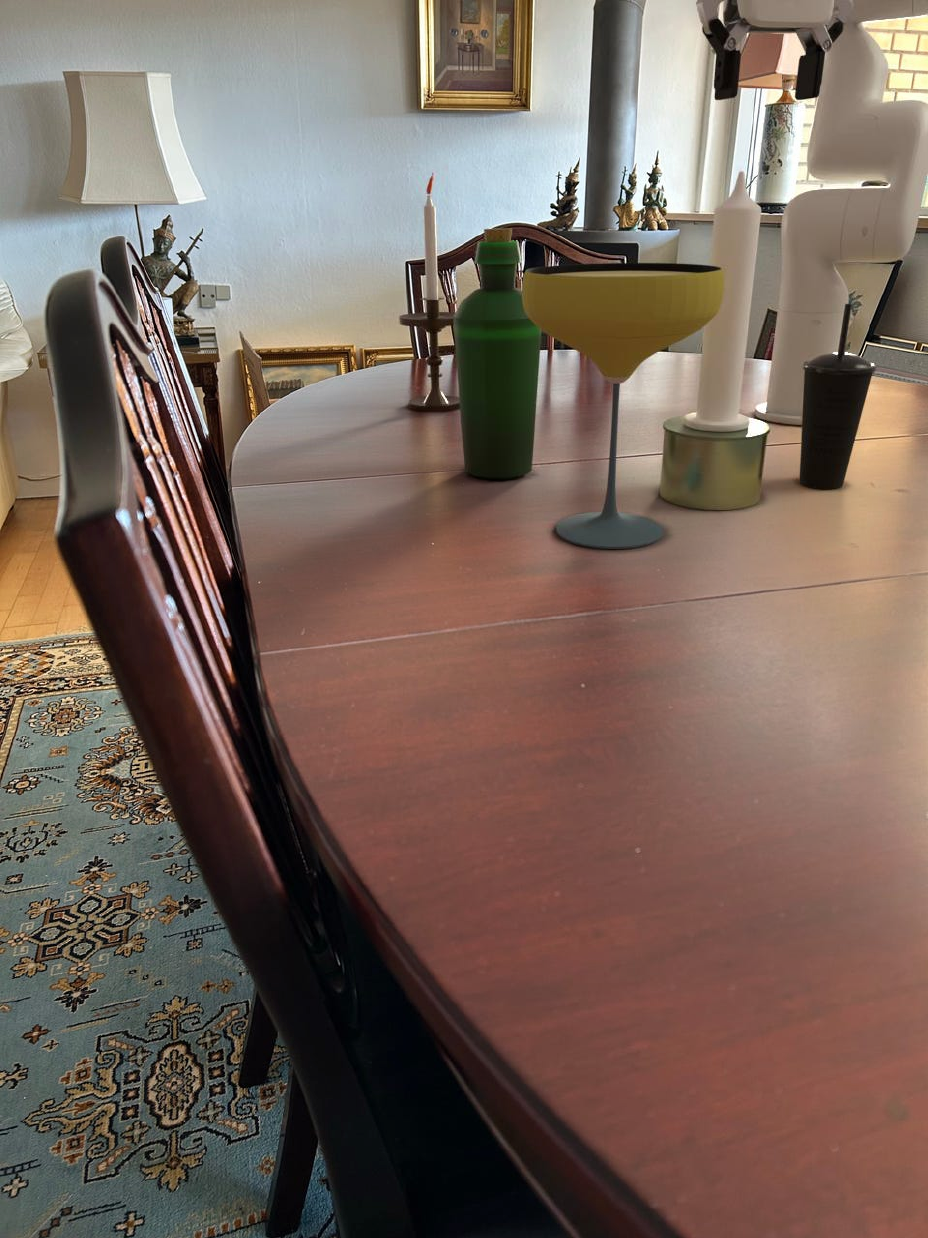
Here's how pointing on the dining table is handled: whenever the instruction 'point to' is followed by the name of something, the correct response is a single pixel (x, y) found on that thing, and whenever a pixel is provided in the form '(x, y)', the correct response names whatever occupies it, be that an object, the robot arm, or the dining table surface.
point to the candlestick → (431, 318)
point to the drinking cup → (832, 412)
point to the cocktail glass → (619, 349)
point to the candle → (728, 315)
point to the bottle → (497, 366)
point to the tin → (712, 466)
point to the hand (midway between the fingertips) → (766, 98)
